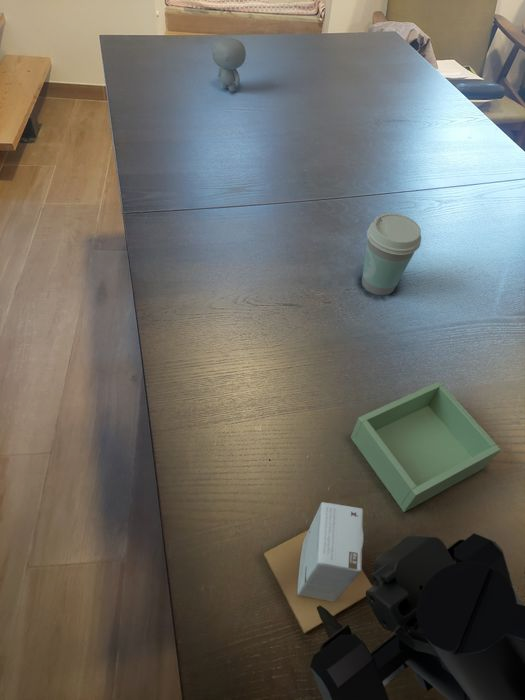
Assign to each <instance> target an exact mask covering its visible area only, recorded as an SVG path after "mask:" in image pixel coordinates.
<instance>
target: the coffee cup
mask: <svg viewBox="0 0 525 700" xmlns="http://www.w3.org/2000/svg"><path fill="white" fill-rule="evenodd" d="M421 233H422V231H421V228H420V225H419V224H418V223H417V221H415V220H414V219H412V218H411V217H409V216H407V215H403V214H401V213H395V212H393V213H391V212H389V213H383V214H380V215H378V216H376V217H375V218H374V220H373V221H372V222H371V223H370V225H369V227H368V228H367V231H366V236H367V242H366V249H365V256H364V262H363V268H362V276H361V285H362V287H363V288H364V289H365V290H366V291H367V292H369V293H371V294H373V295H376V296H388V295H390V294H391V293H393V292H394V291H395V290H396V287H397V285H398V284H399V282H400V280H401V278H402V276H403V275H404V273H405V271H406V269H407V267H408V265H409V263H410V262H411V260H412V258H413V256H414V255H415V252H416V251H418V250H419V248H420V247H421V243H422V234H421Z"/></svg>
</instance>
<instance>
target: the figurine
mask: <svg viewBox="0 0 525 700" xmlns="http://www.w3.org/2000/svg"><path fill="white" fill-rule="evenodd" d="M246 51H247V50H246V48H245V45H244V44H243V42H241V41H240V40H239V39H237V38H235V37H231V36H224V37H221V38H219V39H218V40H216V41H215V43H214V44H213V47H212V50H211V54H212V59H213V61H214V63H215V64H216V66H218V69H217V78H219V79H220V82H221V87H222V89H224V90H227V89H228V91H229V92H230V93H234V91H235V90H236V86H240V81H241V79H240V78H241V77H240V73H239V72H238V70H237V69H239V68H240V67H242V66H243V65H244V64H245V60H246V55H247V52H246Z"/></svg>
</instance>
